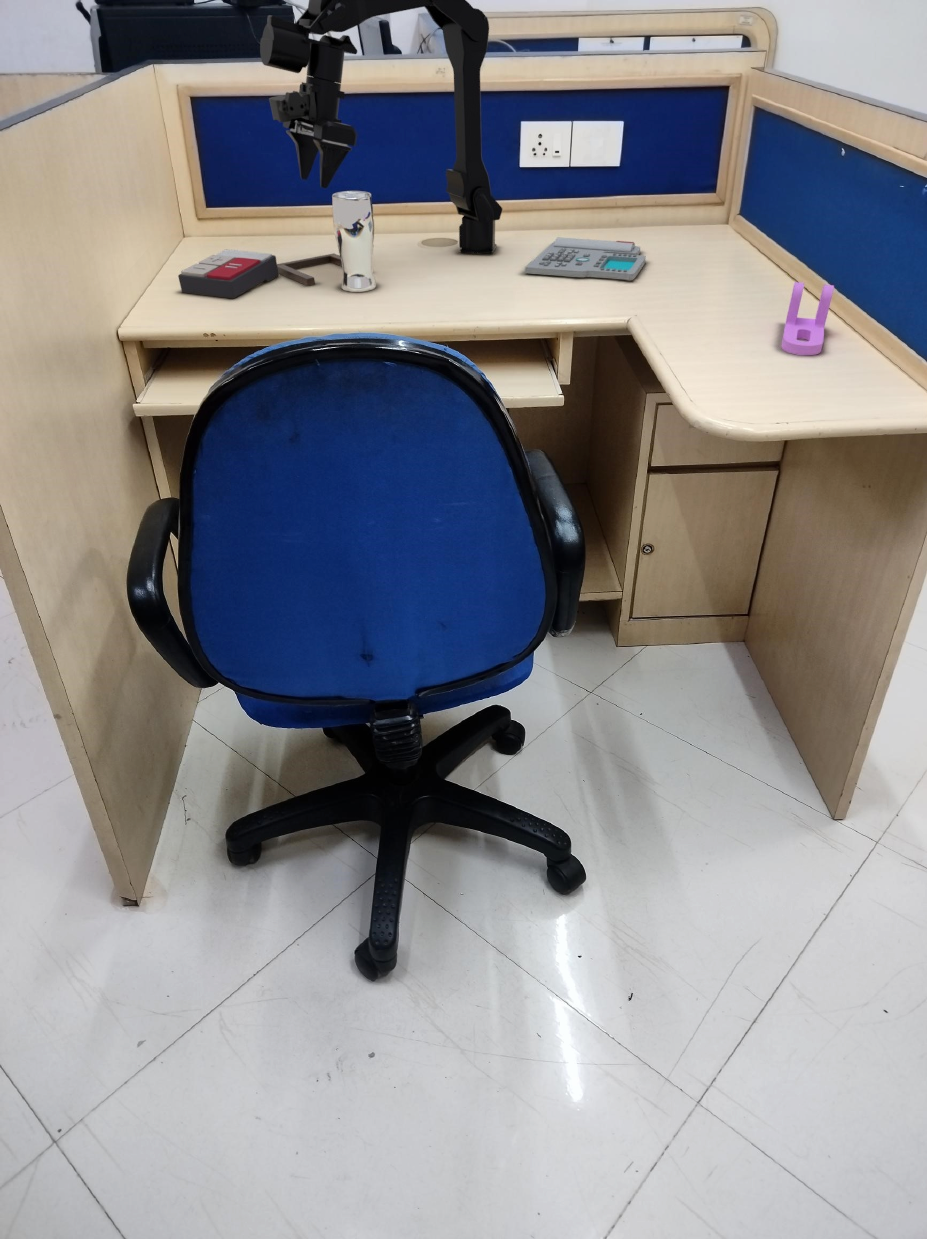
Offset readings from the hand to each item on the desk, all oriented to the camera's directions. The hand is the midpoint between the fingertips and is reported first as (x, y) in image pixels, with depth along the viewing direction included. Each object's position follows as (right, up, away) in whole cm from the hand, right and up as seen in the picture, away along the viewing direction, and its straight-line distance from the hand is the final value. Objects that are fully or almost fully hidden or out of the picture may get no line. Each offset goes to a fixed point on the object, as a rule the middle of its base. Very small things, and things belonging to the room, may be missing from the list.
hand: (313, 183), depth 148 cm
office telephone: (+51, -8, +15) cm, 54 cm away
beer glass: (+8, -17, +3) cm, 19 cm away
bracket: (+77, -35, -21) cm, 87 cm away
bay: (0, -11, +10) cm, 15 cm away
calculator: (-16, -16, +4) cm, 23 cm away
